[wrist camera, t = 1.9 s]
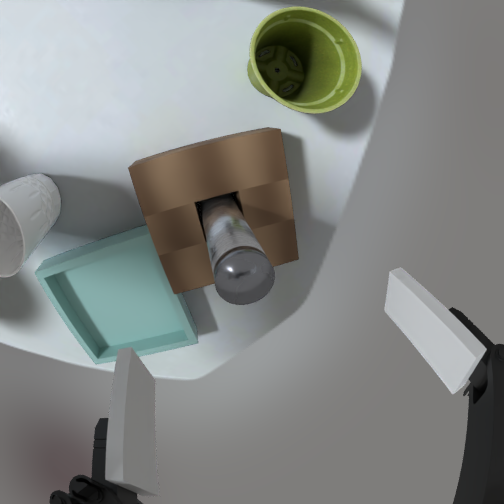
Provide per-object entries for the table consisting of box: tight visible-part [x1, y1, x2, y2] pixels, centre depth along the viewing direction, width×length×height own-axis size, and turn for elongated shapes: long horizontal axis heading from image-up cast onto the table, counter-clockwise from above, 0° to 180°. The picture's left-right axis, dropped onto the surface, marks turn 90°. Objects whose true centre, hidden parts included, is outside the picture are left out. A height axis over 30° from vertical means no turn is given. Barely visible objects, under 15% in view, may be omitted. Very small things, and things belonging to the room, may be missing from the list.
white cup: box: [0, 173, 61, 277], centre depth 19 cm, size 8×8×10 cm
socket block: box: [128, 127, 299, 294], centre depth 28 cm, size 14×14×4 cm
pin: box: [200, 193, 275, 305], centre depth 23 cm, size 4×4×15 cm
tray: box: [35, 225, 198, 364], centre depth 30 cm, size 16×16×3 cm
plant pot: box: [247, 7, 362, 114], centre depth 20 cm, size 9×9×9 cm
